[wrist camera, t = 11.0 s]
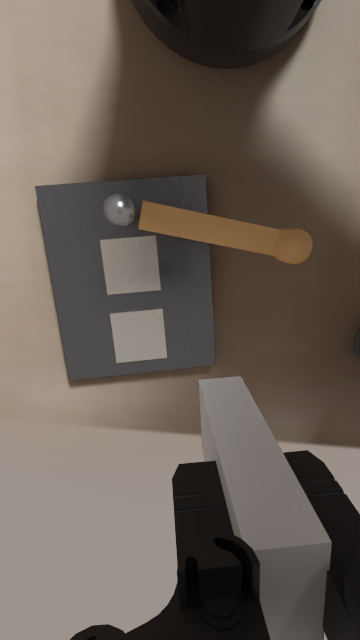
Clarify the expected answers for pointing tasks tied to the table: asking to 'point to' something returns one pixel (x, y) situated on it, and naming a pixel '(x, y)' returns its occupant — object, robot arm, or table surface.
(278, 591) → the robot arm
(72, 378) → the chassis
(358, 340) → the beverage cup
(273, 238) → the wooden lever handle
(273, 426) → the table surface
